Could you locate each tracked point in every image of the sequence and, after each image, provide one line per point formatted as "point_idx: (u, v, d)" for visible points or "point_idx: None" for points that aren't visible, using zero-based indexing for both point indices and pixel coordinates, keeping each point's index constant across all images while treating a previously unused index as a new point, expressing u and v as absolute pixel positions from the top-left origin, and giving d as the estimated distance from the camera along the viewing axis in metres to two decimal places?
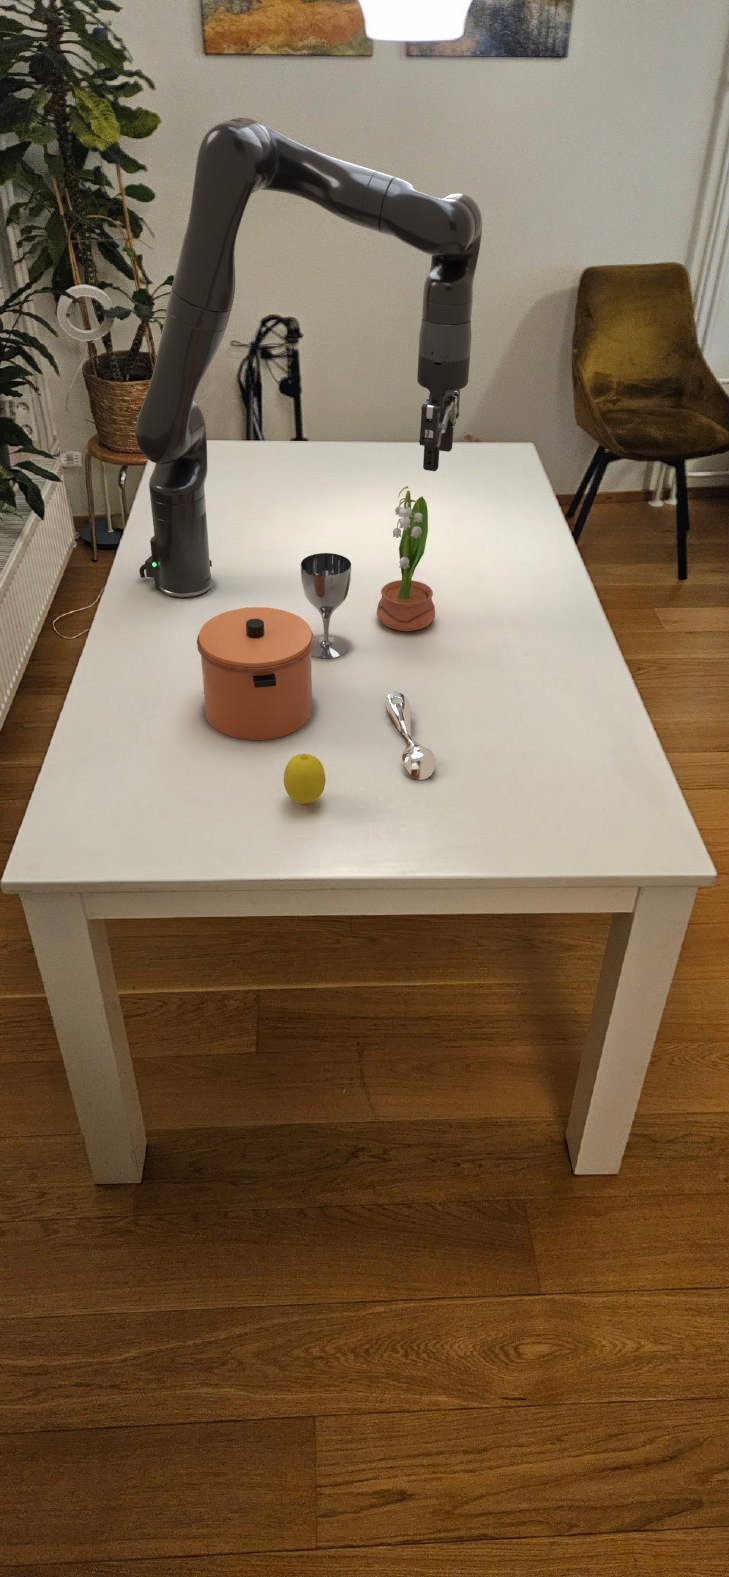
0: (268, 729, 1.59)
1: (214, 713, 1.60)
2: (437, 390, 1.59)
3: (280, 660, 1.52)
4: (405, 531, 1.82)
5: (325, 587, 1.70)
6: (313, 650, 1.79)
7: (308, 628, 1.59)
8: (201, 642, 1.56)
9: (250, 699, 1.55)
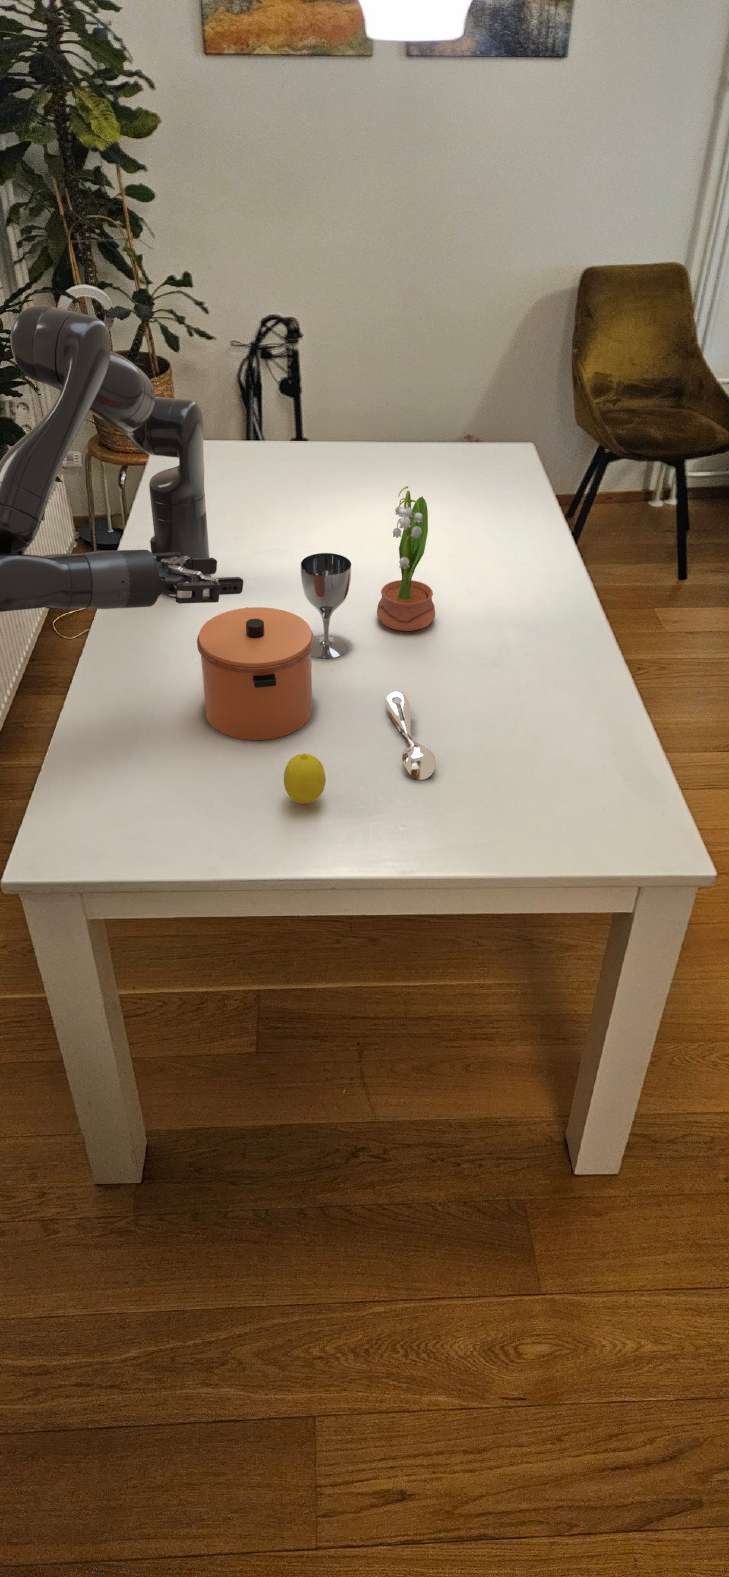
0: (268, 729, 1.59)
1: (214, 713, 1.60)
2: None
3: (280, 660, 1.52)
4: (405, 531, 1.82)
5: (325, 587, 1.70)
6: (313, 650, 1.79)
7: (308, 628, 1.59)
8: (201, 642, 1.56)
9: (250, 699, 1.55)
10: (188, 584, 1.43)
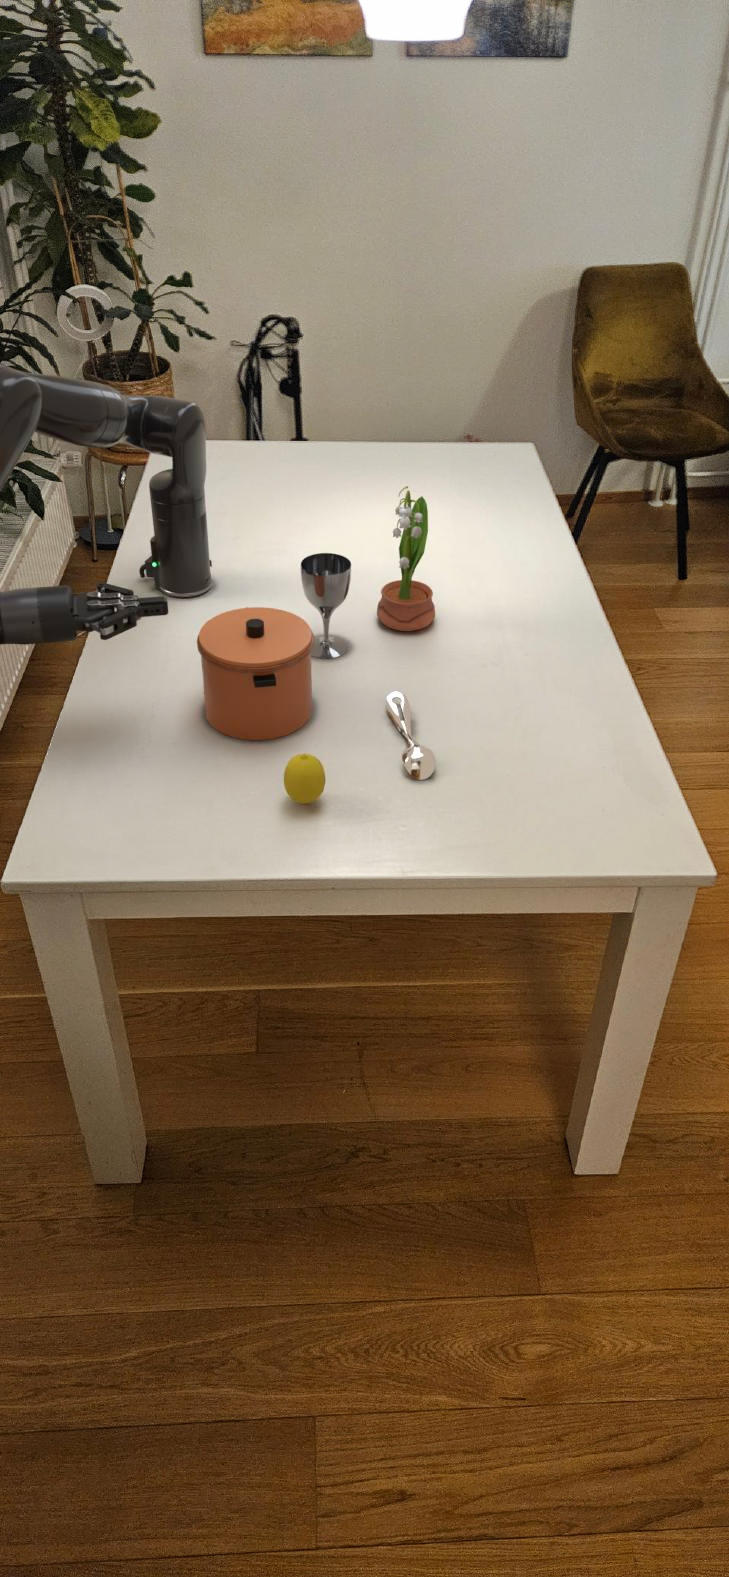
0: (268, 729, 1.59)
1: (214, 713, 1.60)
2: None
3: (280, 660, 1.52)
4: (405, 531, 1.82)
5: (325, 587, 1.70)
6: (313, 650, 1.79)
7: (308, 628, 1.59)
8: (201, 642, 1.56)
9: (250, 699, 1.55)
10: (109, 619, 1.46)
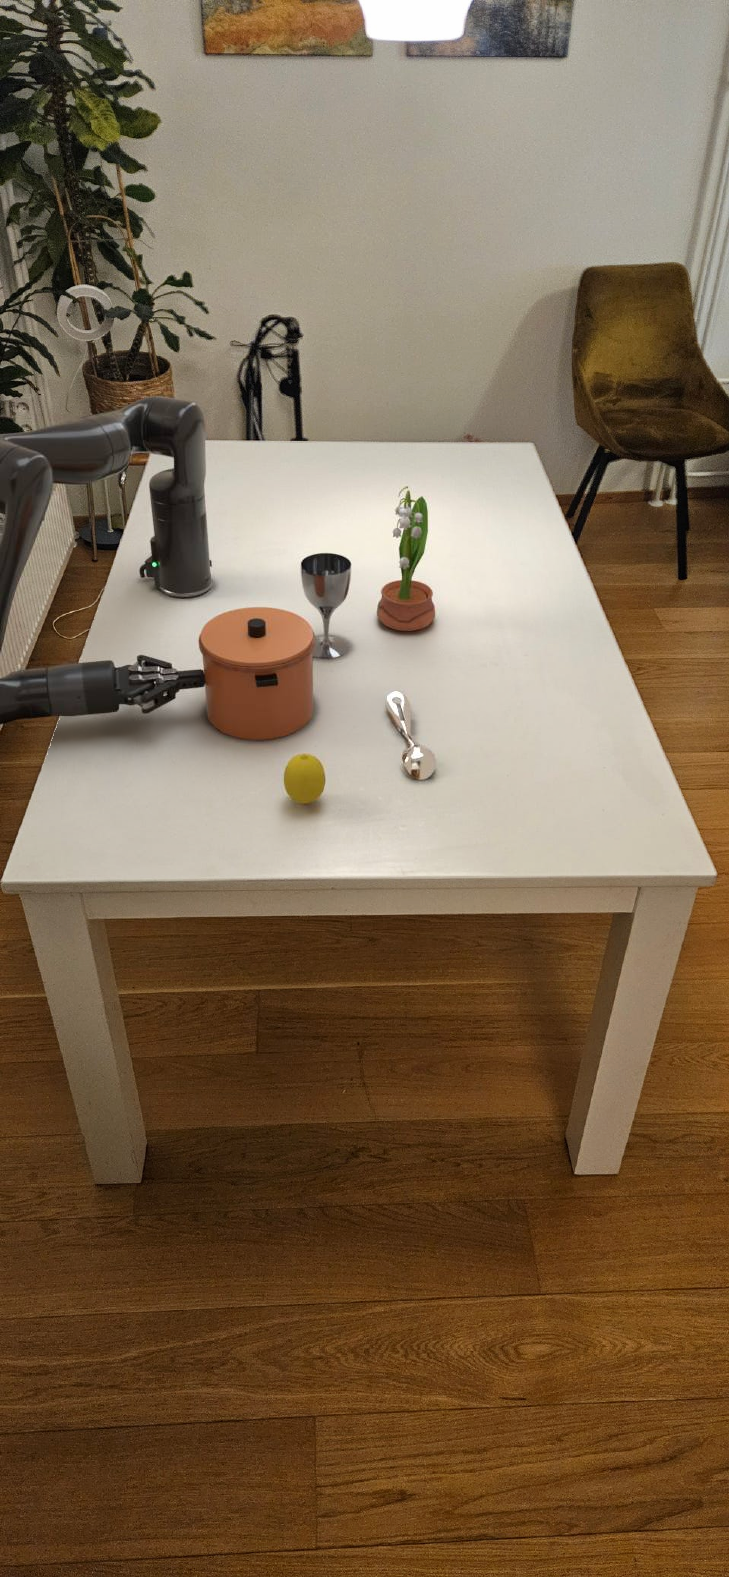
0: (270, 729, 1.59)
1: (216, 713, 1.60)
2: None
3: (282, 660, 1.52)
4: (405, 531, 1.82)
5: (325, 587, 1.70)
6: (313, 650, 1.79)
7: (309, 628, 1.59)
8: (203, 642, 1.56)
9: (252, 699, 1.55)
10: (150, 694, 1.54)
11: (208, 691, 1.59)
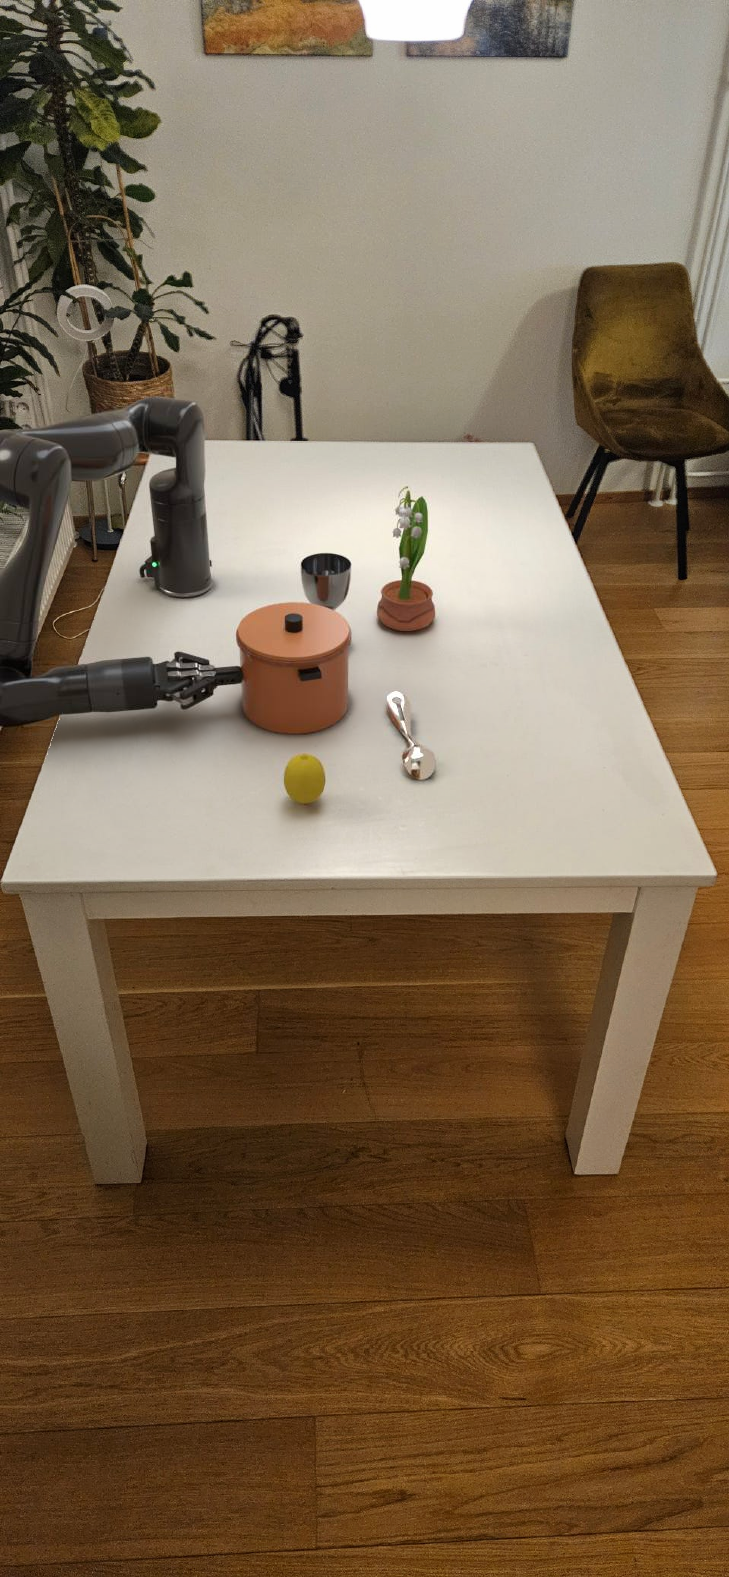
0: (311, 722, 1.60)
1: (256, 709, 1.61)
2: None
3: (324, 653, 1.54)
4: (405, 531, 1.82)
5: (325, 587, 1.70)
6: None
7: (344, 620, 1.61)
8: (242, 639, 1.57)
9: (294, 693, 1.57)
10: (189, 690, 1.55)
11: (247, 688, 1.60)
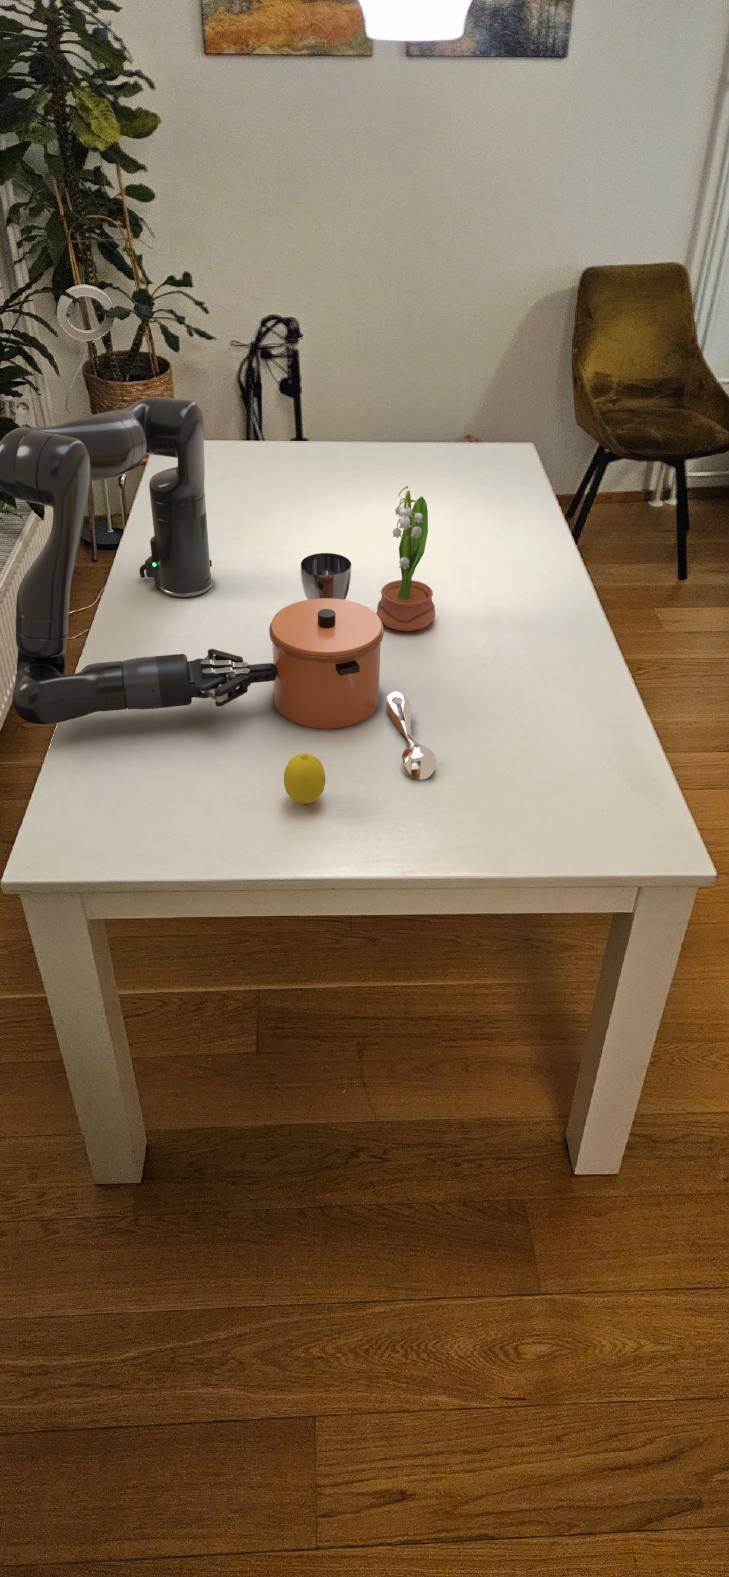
0: (347, 716, 1.62)
1: (291, 705, 1.62)
2: None
3: (361, 647, 1.56)
4: (405, 531, 1.82)
5: (325, 587, 1.70)
6: None
7: (375, 614, 1.63)
8: (277, 636, 1.57)
9: (332, 688, 1.58)
10: (224, 687, 1.56)
11: (282, 684, 1.61)
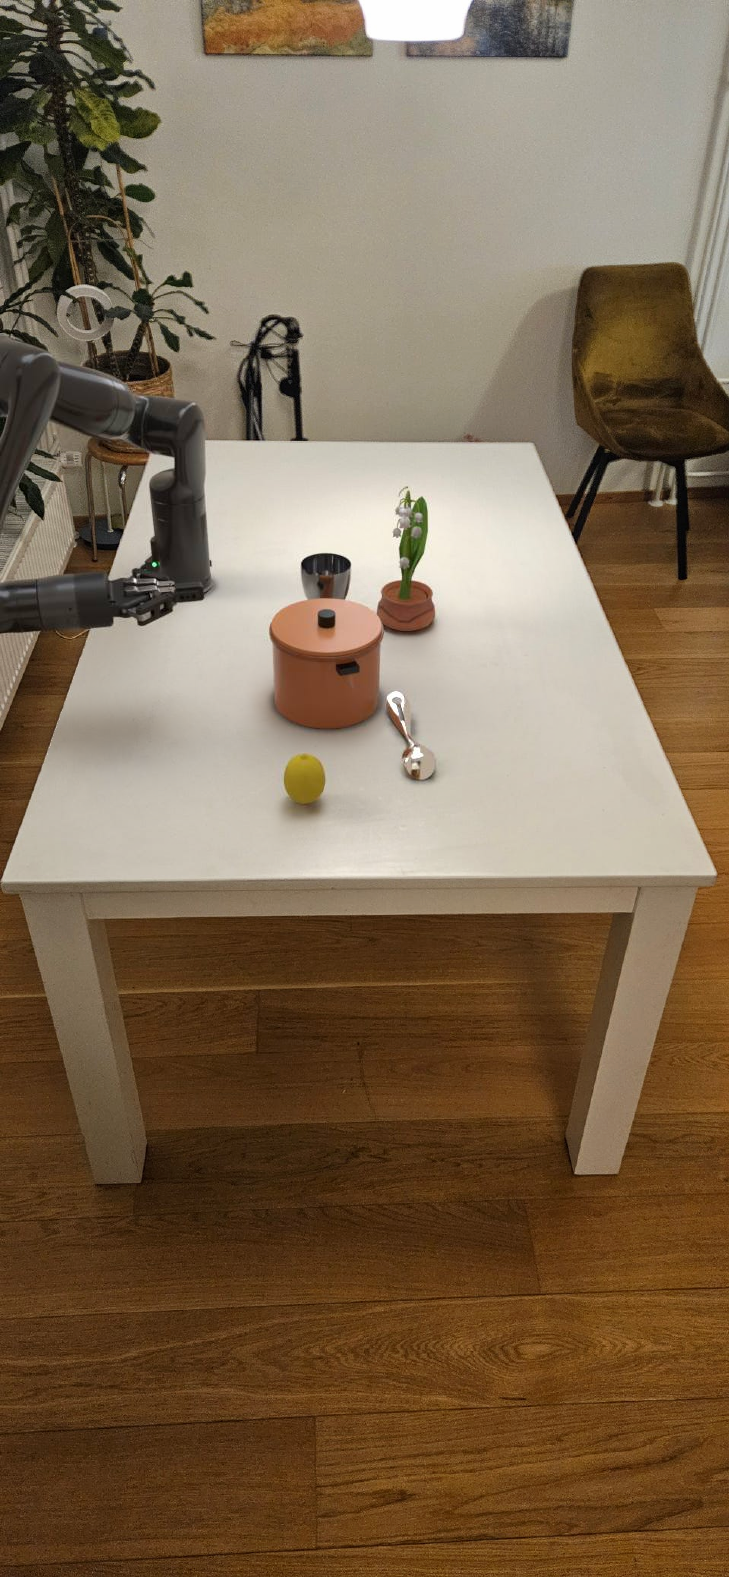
0: (347, 716, 1.62)
1: (291, 705, 1.62)
2: None
3: (361, 647, 1.56)
4: (405, 531, 1.82)
5: (325, 587, 1.70)
6: None
7: (375, 614, 1.63)
8: (277, 636, 1.57)
9: (332, 688, 1.58)
10: (146, 605, 1.46)
11: (282, 685, 1.61)
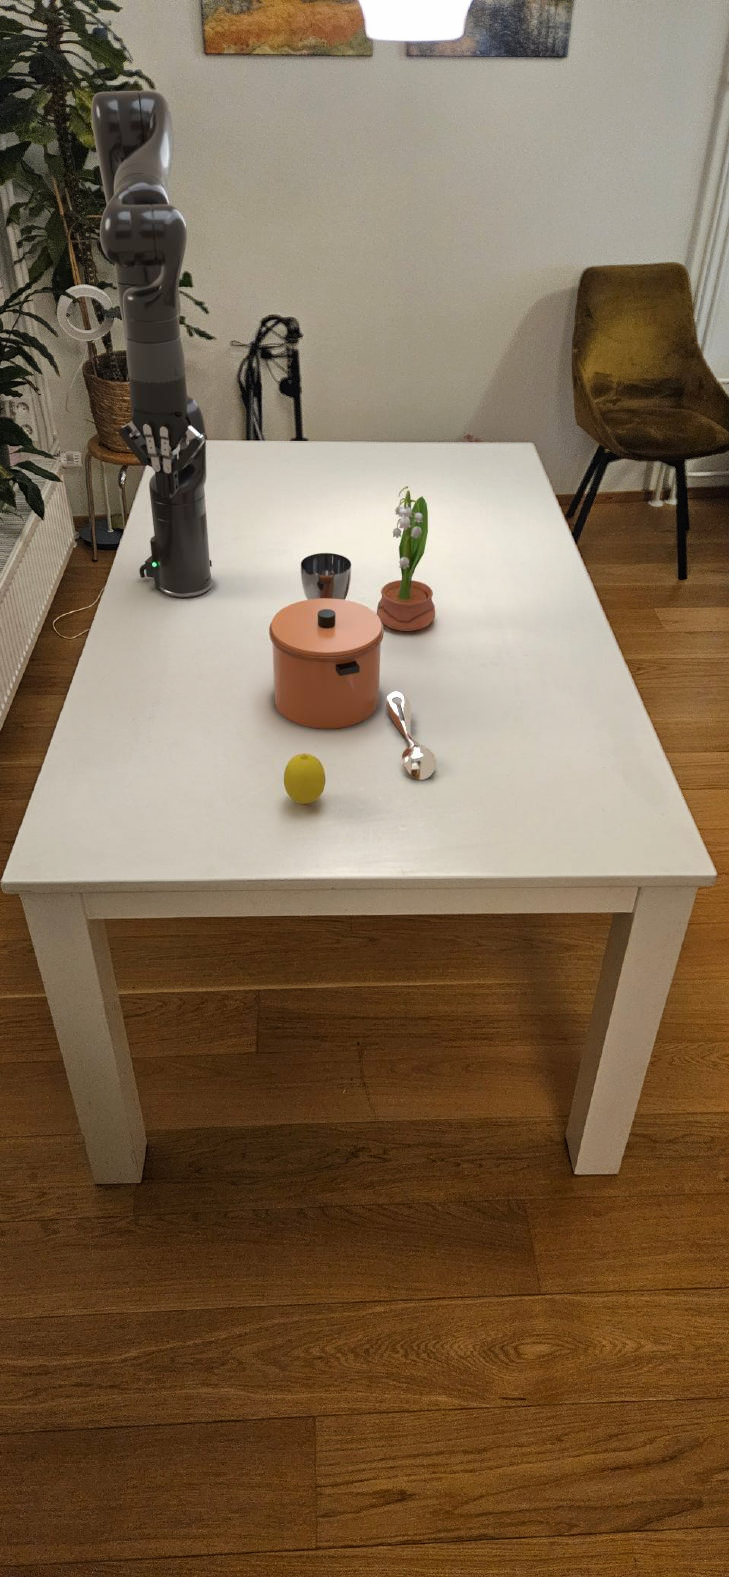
0: (347, 716, 1.62)
1: (291, 705, 1.62)
2: None
3: (361, 647, 1.56)
4: (405, 531, 1.82)
5: (325, 587, 1.70)
6: None
7: (375, 614, 1.63)
8: (277, 636, 1.57)
9: (332, 688, 1.58)
10: None
11: (282, 685, 1.61)
